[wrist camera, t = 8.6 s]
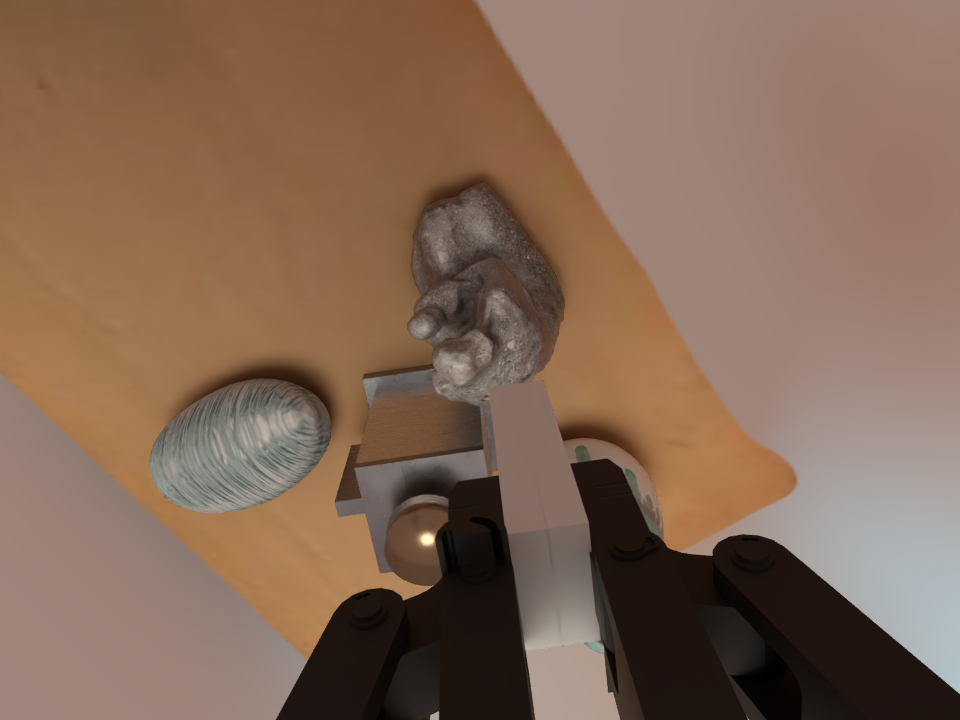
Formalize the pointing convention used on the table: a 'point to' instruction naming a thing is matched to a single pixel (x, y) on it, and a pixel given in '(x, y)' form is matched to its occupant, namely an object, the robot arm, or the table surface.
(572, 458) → the vase
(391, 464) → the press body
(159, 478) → the striped grey egg shape
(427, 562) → the plunger
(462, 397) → the figurine
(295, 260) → the table surface
